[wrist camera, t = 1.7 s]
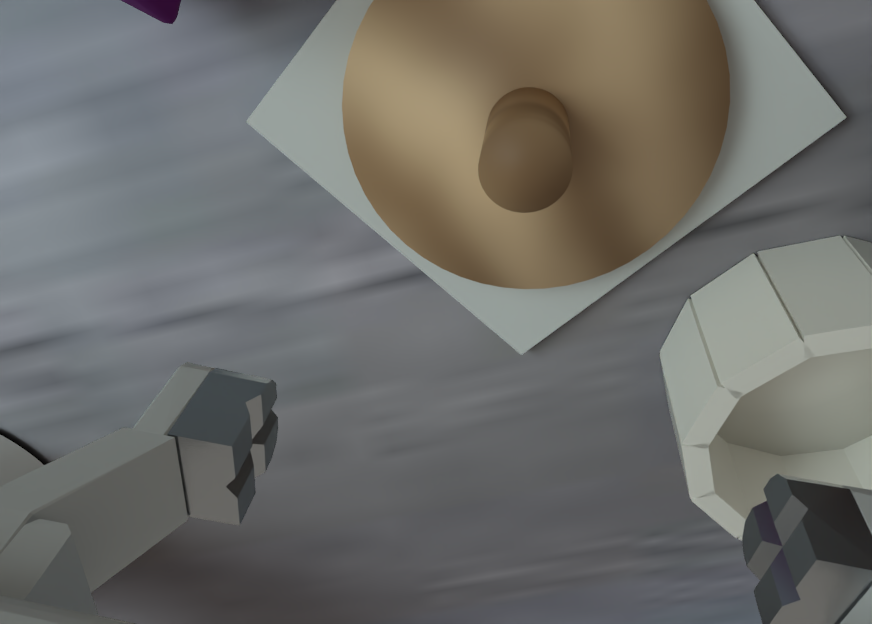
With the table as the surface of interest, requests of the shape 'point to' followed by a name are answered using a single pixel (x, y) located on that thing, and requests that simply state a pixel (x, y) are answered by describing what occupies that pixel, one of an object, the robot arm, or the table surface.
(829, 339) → the bowl
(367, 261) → the table surface
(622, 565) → the table surface
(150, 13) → the perfume bottle
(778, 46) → the trivet
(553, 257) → the lid
